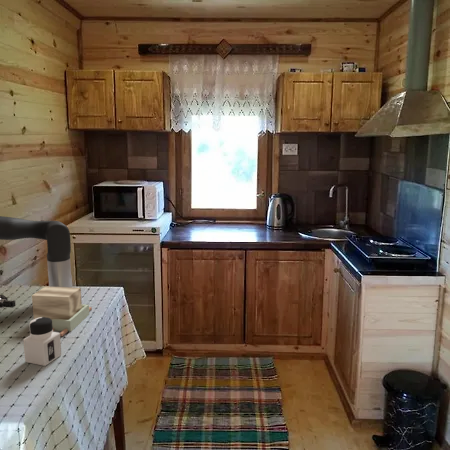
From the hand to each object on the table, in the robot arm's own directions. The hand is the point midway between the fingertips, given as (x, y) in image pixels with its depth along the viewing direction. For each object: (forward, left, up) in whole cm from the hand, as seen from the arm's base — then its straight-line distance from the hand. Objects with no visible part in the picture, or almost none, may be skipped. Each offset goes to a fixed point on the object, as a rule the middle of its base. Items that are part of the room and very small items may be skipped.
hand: (14, 304), depth 170 cm
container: (+28, +26, -6) cm, 39 cm away
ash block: (0, +17, -6) cm, 18 cm away
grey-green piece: (0, +22, -6) cm, 23 cm away
